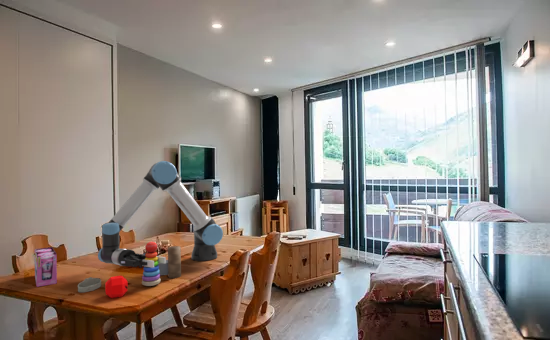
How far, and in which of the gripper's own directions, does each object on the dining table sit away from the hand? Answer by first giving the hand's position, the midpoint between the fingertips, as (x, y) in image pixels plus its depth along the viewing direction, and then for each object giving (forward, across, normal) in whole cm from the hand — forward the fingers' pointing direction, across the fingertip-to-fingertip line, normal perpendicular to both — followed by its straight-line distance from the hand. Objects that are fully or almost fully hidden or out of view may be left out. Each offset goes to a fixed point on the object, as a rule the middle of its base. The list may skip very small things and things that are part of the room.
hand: (159, 262), depth 143 cm
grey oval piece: (-26, +15, -11) cm, 32 cm away
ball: (-8, +16, -11) cm, 21 cm away
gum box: (-60, +16, -11) cm, 63 cm away
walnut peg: (-5, -14, -11) cm, 18 cm away
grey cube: (-14, -15, -11) cm, 23 cm away
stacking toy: (-5, 0, -10) cm, 11 cm away
